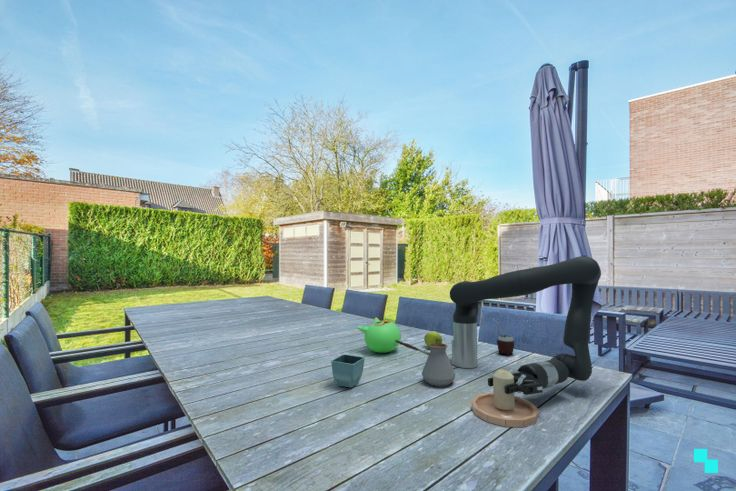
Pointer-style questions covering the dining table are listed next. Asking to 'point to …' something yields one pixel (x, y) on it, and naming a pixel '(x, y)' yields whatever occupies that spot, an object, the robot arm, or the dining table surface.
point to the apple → (432, 338)
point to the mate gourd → (505, 344)
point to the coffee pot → (435, 364)
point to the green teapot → (381, 336)
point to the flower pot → (347, 369)
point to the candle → (503, 390)
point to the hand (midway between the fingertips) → (497, 386)
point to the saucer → (505, 411)
